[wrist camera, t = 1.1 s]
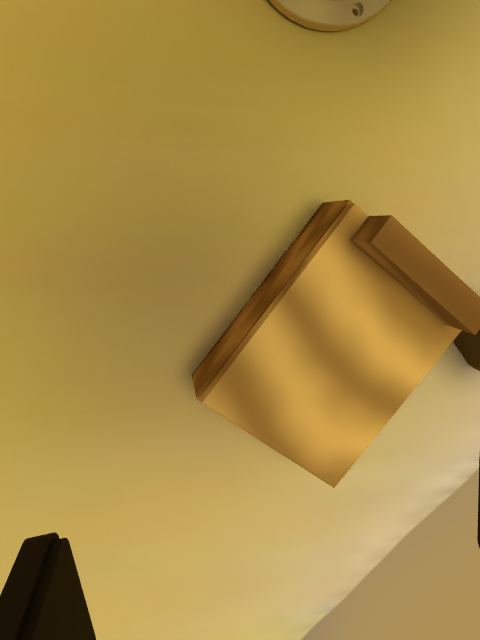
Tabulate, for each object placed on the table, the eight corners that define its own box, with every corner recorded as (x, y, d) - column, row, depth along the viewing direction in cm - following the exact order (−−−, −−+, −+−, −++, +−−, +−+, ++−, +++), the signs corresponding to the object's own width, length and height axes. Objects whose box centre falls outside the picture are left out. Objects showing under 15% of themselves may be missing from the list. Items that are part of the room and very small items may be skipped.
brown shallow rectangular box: (323, 202, 35) (349, 199, 30) (426, 294, 38) (465, 305, 33) (192, 375, 36) (196, 398, 31) (304, 449, 39) (323, 480, 34)
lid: (347, 204, 30) (376, 201, 26) (464, 310, 33) (506, 322, 29) (200, 396, 31) (206, 422, 27) (328, 479, 34) (350, 513, 30)
